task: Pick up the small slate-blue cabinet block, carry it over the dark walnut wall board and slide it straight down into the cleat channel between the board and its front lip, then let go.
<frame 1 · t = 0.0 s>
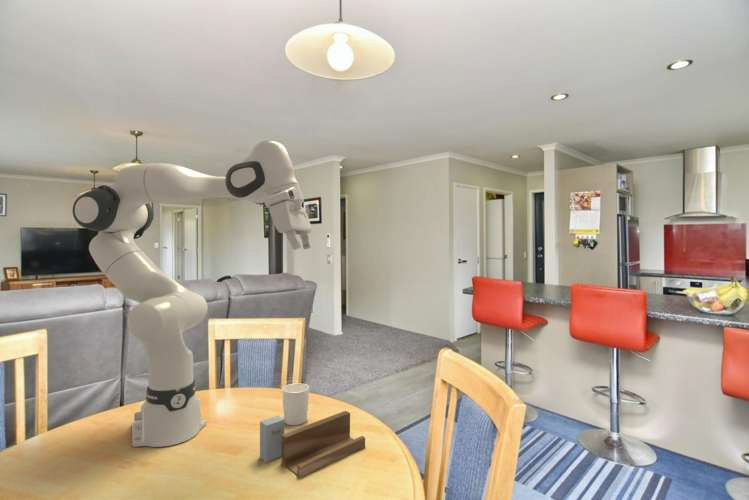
hand: (302, 248, 104), 52 cm above the table, tool tilted 20°, fingers open, 8 cm apart
cabinet block: (272, 456, 98), on the table
cleat board: (325, 455, 98), on the table
white cup: (295, 421, 117), on the table
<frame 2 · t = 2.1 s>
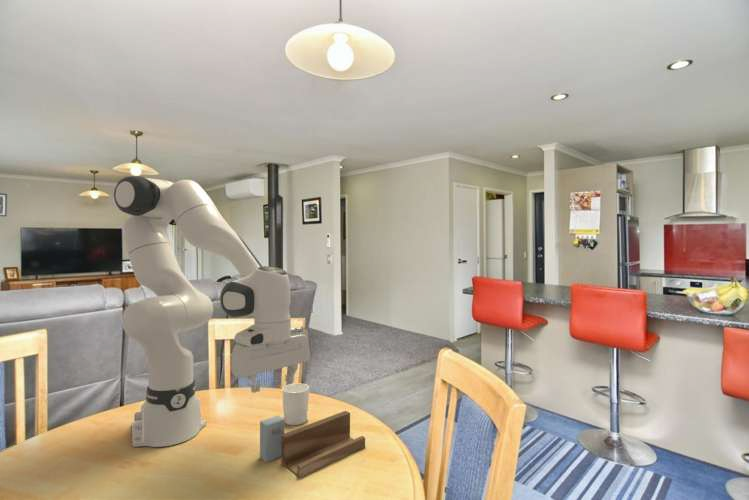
hand: (273, 386, 97), 17 cm above the table, tool pointing down, fingers open, 8 cm apart
nothing on the table moved.
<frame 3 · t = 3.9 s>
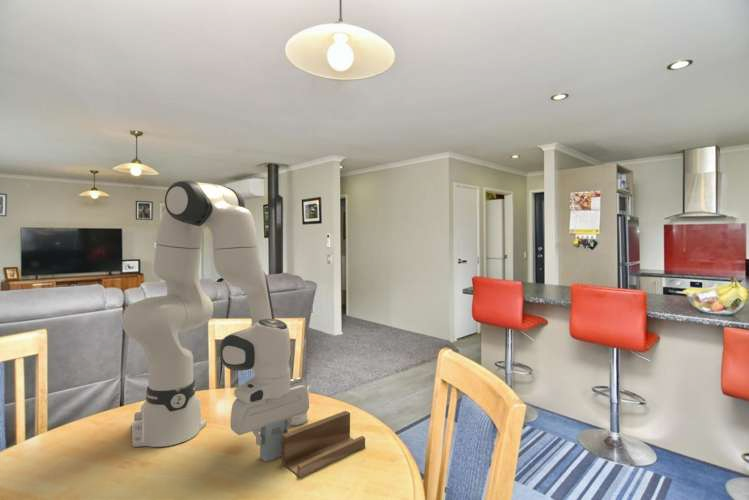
hand: (272, 439, 98), 4 cm above the table, tool pointing down, fingers closed on cabinet block, 5 cm apart
cabinet block: (272, 455, 98), on the table, touching gripper
everything else where it was.
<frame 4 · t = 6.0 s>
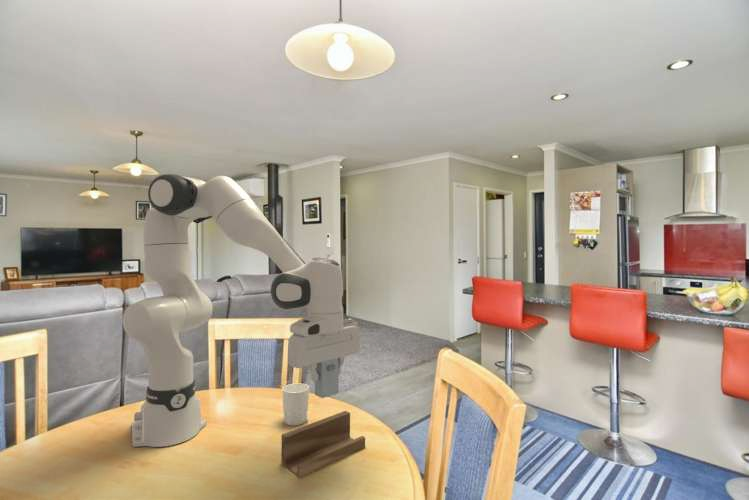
hand: (326, 377, 98), 20 cm above the table, tool pointing down, fingers closed on cabinet block, 5 cm apart
cabinet block: (326, 393, 98), point 16 cm above the table, touching gripper
everything else where it was.
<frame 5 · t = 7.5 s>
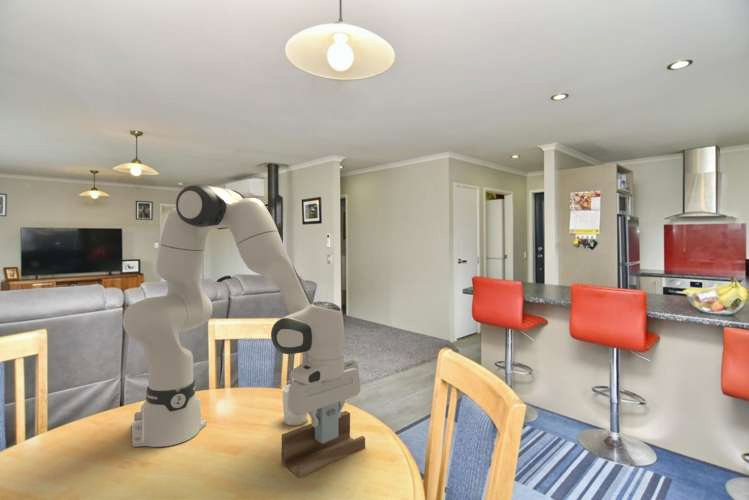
hand: (326, 421, 98), 9 cm above the table, tool pointing down, fingers closed on cabinet block, 5 cm apart
cabinet block: (326, 437, 98), point 4 cm above the table, touching gripper
everything else where it was.
when the fingers open (6 cm above the table, at t = 8.5 s): cabinet block drops 1 cm, resting on cleat board.
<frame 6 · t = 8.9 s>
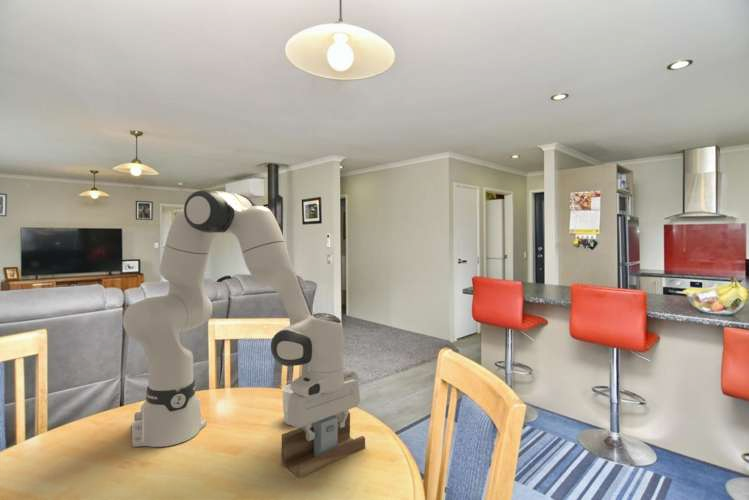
hand: (325, 433, 98), 6 cm above the table, tool pointing down, fingers open, 8 cm apart
cabinet block: (325, 453, 98), resting on cleat board
everything else where it was.
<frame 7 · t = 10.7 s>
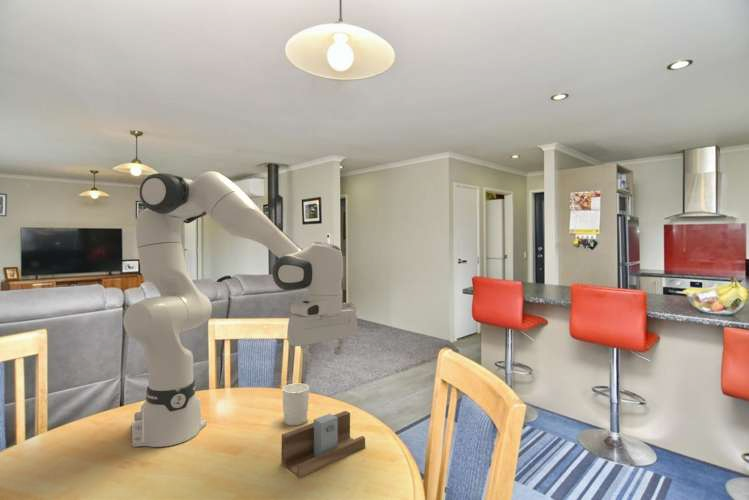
hand: (323, 357, 101), 24 cm above the table, tool pointing down, fingers open, 8 cm apart
nothing on the table moved.
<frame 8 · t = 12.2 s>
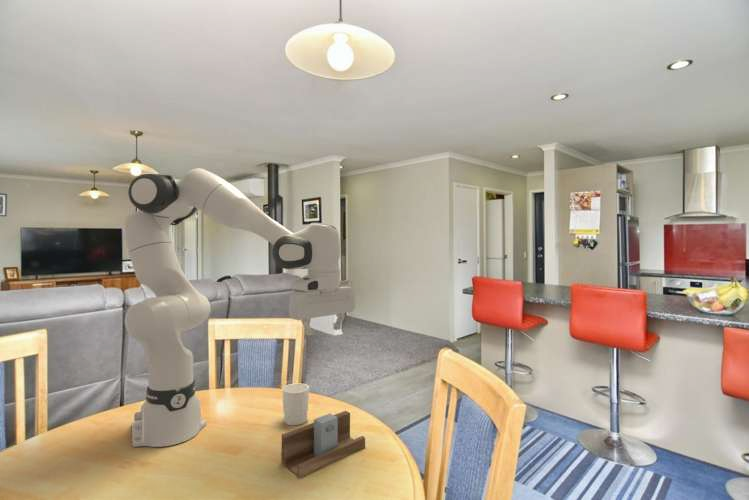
hand: (323, 332, 107), 29 cm above the table, tool pointing down, fingers open, 8 cm apart
nothing on the table moved.
at the end: cabinet block inside the target area on the cleat board (0.1 cm from its centre), point 0.4 cm above the cleat board's base; cabinet block tilted 0°; the gripper is holding nothing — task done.
